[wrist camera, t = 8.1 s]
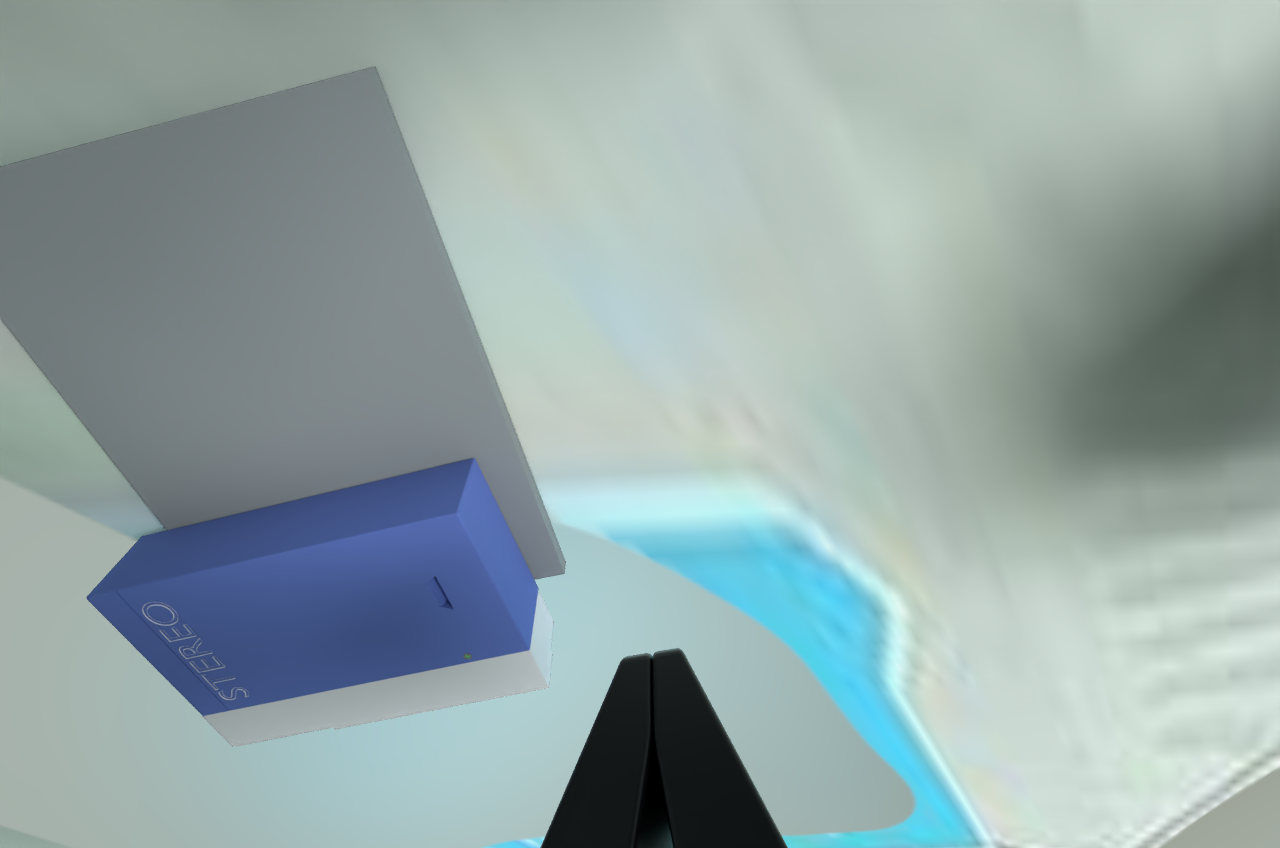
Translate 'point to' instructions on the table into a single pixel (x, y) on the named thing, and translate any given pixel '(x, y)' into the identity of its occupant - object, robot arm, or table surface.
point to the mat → (258, 310)
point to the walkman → (337, 607)
